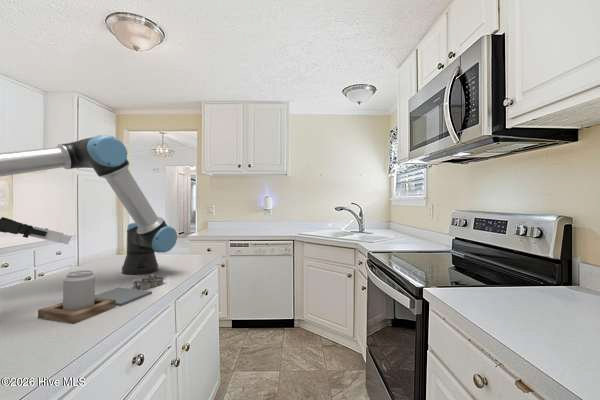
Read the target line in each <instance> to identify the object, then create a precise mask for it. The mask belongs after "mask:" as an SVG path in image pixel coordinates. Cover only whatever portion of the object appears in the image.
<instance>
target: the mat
mask: <svg viewBox="0 0 600 400" xmlns="http://www.w3.org/2000/svg"><path fill="white" fill-rule="evenodd" d="M152 293H153V291H151V290H141V289H134V288H127V287H115V288H113V289H109V290H106V291H104V292H100V293H97V294H95V297H98V298H105V299H112V300H116V307H123V306H125V305H127V304H130V303H132V302H133V303H134V301H137V300H140V299H142V298H144V297H148V296H149V295H152Z"/></svg>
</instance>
